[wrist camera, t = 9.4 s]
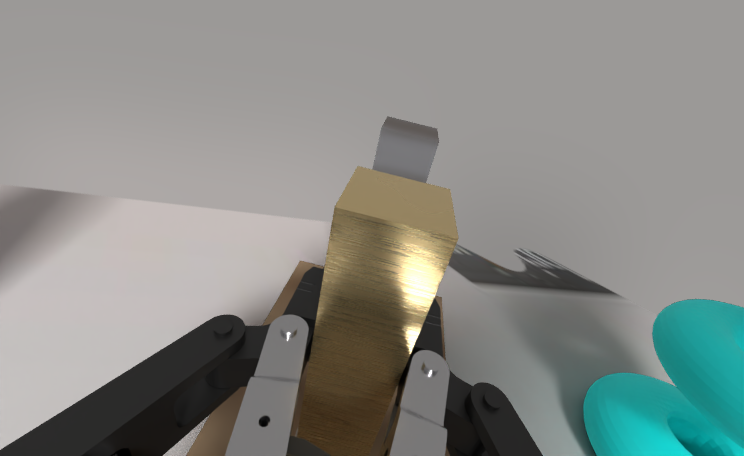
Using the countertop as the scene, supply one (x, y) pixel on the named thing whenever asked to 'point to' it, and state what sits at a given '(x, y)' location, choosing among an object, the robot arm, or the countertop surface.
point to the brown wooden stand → (393, 156)
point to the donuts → (677, 389)
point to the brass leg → (372, 304)
